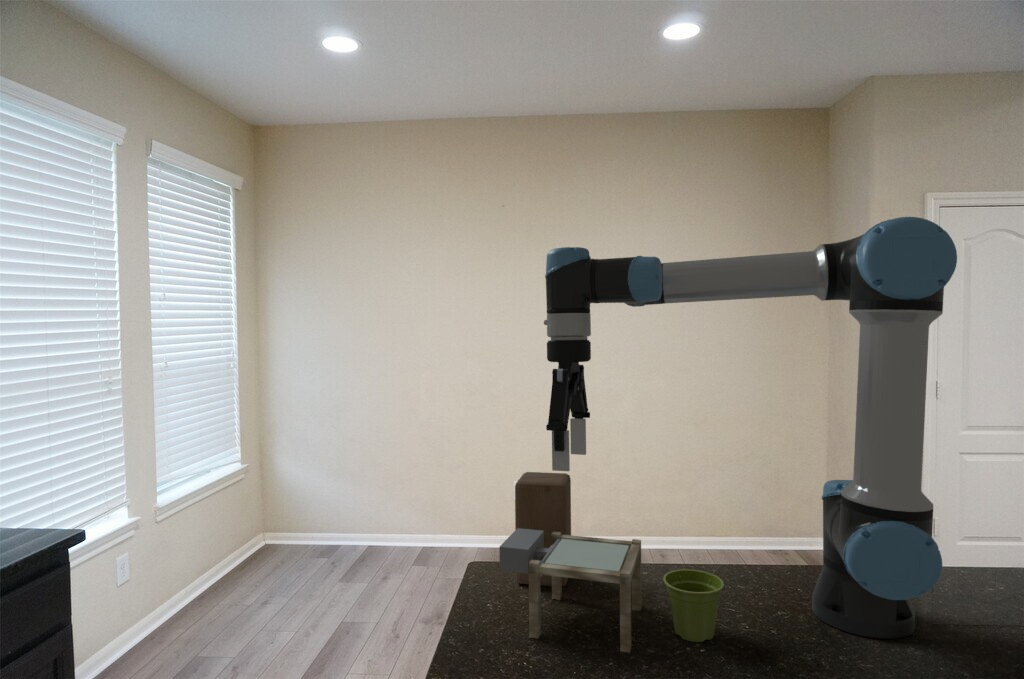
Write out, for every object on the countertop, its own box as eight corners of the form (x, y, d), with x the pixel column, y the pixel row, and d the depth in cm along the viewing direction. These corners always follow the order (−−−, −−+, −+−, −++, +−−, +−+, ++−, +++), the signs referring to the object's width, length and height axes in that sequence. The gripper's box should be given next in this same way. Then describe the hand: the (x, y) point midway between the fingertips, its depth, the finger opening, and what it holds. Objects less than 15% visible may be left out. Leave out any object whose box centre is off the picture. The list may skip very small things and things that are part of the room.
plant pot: (660, 642, 96) (660, 587, 95) (666, 616, 104) (666, 566, 104) (723, 653, 92) (723, 596, 92) (724, 624, 101) (724, 572, 101)
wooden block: (566, 589, 116) (565, 484, 115) (514, 585, 118) (513, 482, 117) (571, 569, 125) (571, 472, 125) (524, 565, 127) (523, 470, 127)
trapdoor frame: (641, 607, 108) (641, 539, 108) (630, 652, 93) (629, 574, 92) (553, 595, 113) (553, 531, 113) (529, 637, 98) (528, 562, 97)
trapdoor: (629, 559, 107) (628, 536, 106) (618, 587, 95) (618, 562, 95) (519, 547, 113) (519, 526, 113) (497, 573, 101) (497, 549, 101)
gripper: (564, 338, 118) (565, 447, 118) (526, 340, 94) (528, 477, 94) (602, 337, 115) (604, 449, 116) (574, 339, 92) (576, 480, 92)
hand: (570, 462), depth 105 cm, fingers open, 13 cm apart
